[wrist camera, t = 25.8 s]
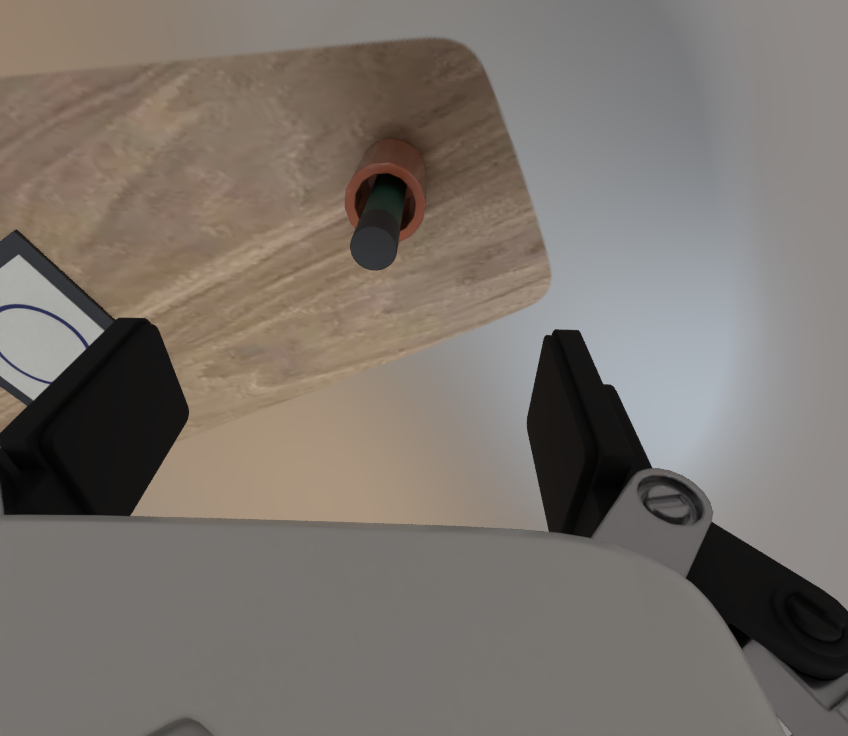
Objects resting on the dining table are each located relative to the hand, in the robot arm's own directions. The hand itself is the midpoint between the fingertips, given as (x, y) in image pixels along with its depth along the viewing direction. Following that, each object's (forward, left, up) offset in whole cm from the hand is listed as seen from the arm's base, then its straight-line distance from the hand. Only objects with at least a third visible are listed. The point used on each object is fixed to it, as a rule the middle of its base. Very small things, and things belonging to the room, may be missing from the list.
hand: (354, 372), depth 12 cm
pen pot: (+1, -2, -26) cm, 26 cm away
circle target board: (-2, -38, -26) cm, 46 cm away
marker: (+1, -2, -26) cm, 26 cm away
